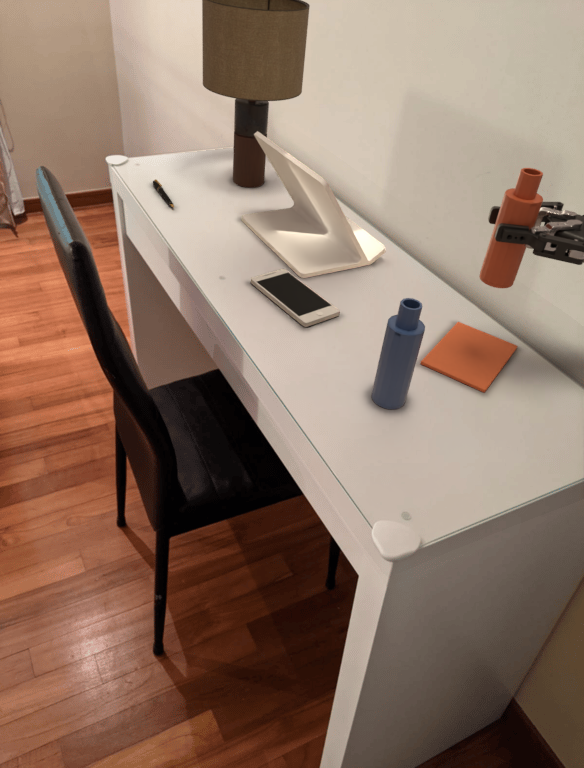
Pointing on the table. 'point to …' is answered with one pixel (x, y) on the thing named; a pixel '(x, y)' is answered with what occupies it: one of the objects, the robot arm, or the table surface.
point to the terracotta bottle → (517, 210)
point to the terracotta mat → (469, 356)
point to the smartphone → (295, 297)
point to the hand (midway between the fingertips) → (493, 223)
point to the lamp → (253, 68)
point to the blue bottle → (398, 355)
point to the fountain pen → (162, 192)
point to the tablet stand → (310, 222)
